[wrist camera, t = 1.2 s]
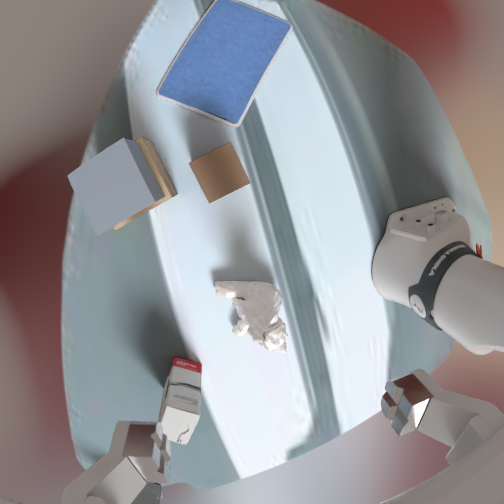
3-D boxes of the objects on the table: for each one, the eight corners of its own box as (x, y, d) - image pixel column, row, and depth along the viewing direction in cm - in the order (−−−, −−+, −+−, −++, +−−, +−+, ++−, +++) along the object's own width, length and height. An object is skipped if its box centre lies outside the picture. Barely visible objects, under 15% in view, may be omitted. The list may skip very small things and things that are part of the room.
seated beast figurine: (210, 281, 40) (211, 322, 29) (266, 258, 41) (288, 292, 29) (235, 333, 43) (244, 383, 32) (286, 312, 44) (311, 357, 32)
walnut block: (226, 148, 36) (230, 142, 29) (243, 181, 37) (250, 182, 31) (192, 165, 36) (188, 163, 29) (209, 198, 37) (209, 203, 31)
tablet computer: (237, 130, 36) (238, 129, 35) (154, 97, 33) (152, 95, 32) (293, 28, 32) (295, 24, 31) (218, -2, 29) (218, -6, 28)
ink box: (173, 354, 43) (166, 405, 32) (202, 363, 44) (202, 414, 33) (162, 389, 45) (155, 439, 33) (188, 396, 46) (187, 446, 34)
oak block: (152, 142, 34) (141, 136, 29) (178, 193, 37) (171, 197, 31) (103, 172, 34) (85, 172, 28) (128, 222, 37) (115, 230, 31)
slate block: (139, 143, 29) (123, 137, 23) (165, 196, 31) (155, 201, 25) (90, 174, 29) (67, 175, 23) (115, 225, 31) (97, 236, 25)
